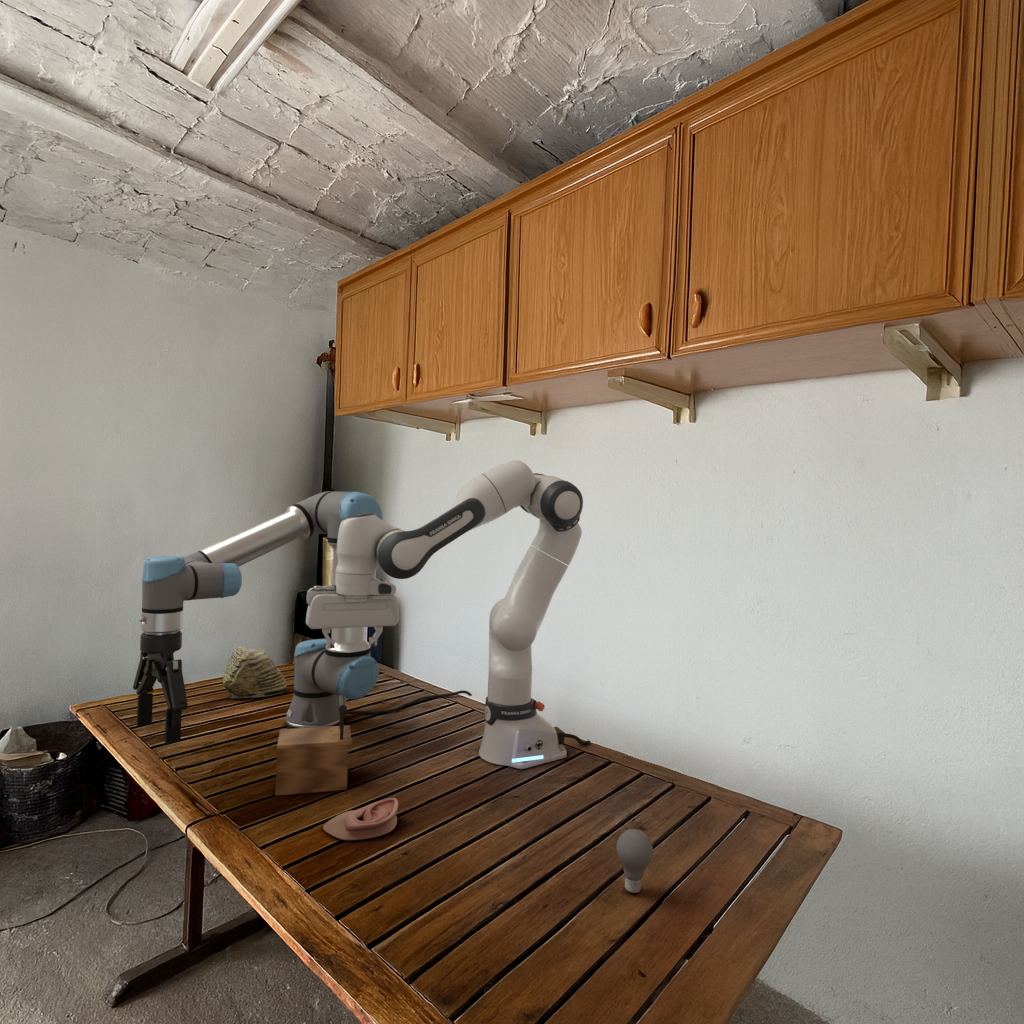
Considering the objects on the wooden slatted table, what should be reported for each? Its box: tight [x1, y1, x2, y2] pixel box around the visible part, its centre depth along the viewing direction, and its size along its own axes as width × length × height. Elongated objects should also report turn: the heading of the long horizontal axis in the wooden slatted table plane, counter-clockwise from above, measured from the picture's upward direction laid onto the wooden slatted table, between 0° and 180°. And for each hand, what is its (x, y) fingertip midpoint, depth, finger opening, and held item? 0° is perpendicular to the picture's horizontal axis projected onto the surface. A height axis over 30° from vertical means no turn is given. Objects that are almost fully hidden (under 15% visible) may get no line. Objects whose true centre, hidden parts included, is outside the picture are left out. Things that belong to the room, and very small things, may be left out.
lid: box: [276, 694, 352, 750], centre depth 140 cm, size 15×10×8 cm, turn 107°
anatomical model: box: [322, 797, 399, 841], centre depth 122 cm, size 13×4×12 cm
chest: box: [274, 745, 350, 797], centre depth 140 cm, size 15×10×10 cm, turn 107°
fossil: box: [222, 646, 288, 699], centre depth 198 cm, size 9×18×15 cm, turn 132°
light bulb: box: [615, 828, 654, 894], centre depth 106 cm, size 6×6×10 cm
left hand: (158, 733), depth 131 cm, fingers open, 13 cm apart
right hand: (351, 646), depth 142 cm, fingers open, 8 cm apart
